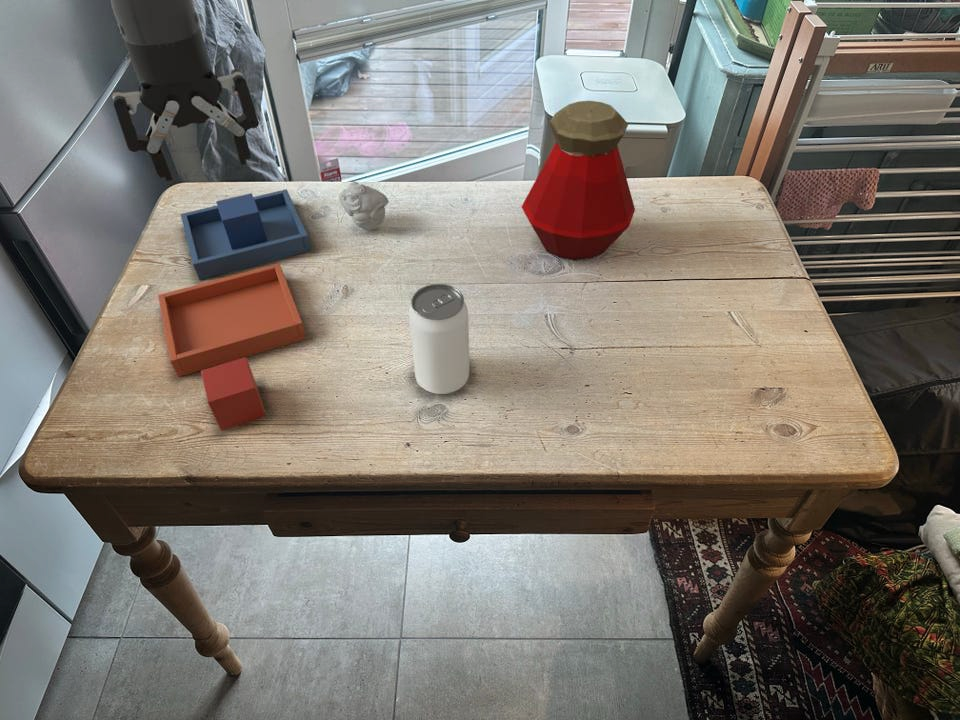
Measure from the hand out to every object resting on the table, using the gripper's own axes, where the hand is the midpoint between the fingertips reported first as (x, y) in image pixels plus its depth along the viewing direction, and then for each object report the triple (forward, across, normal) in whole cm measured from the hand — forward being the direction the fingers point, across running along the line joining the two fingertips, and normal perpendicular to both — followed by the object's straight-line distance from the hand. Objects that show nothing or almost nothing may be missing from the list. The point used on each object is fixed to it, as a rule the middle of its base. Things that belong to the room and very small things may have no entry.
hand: (206, 169), depth 80 cm
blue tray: (+17, -3, -8) cm, 19 cm away
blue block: (+16, -3, -8) cm, 18 cm away
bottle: (+17, -45, +12) cm, 50 cm away
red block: (+17, +5, +22) cm, 29 cm away
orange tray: (+17, +3, +8) cm, 19 cm away
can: (+17, -18, +28) cm, 37 cm away
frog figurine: (+17, -20, -4) cm, 26 cm away
